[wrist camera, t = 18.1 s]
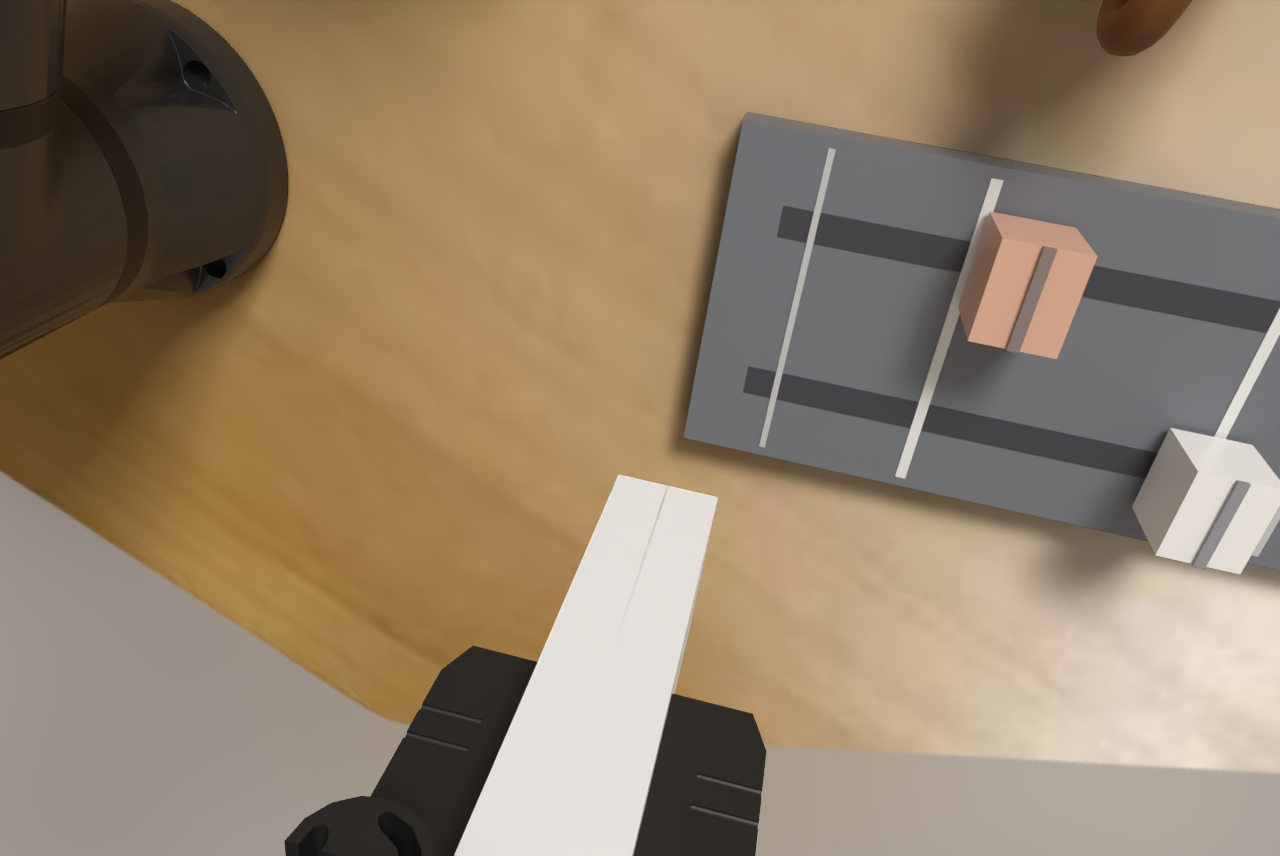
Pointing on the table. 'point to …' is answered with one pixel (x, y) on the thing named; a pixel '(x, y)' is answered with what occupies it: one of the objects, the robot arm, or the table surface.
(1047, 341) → the fader
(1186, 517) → the block
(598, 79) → the table surface
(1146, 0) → the mug
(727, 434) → the console
